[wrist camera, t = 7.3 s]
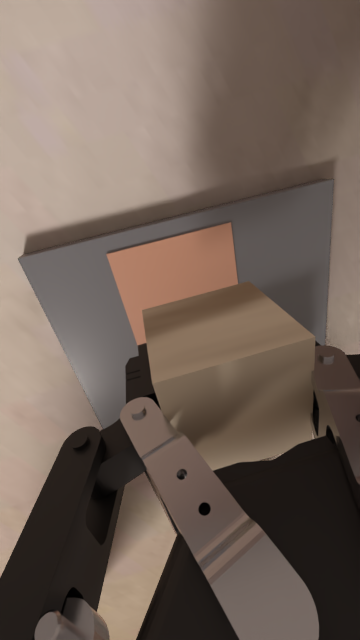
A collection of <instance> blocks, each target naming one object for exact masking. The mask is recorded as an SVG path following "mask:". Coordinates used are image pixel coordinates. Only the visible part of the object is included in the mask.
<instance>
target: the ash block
mask: <svg viewBox="0 0 360 640" xmlns="http://www.w3.org/2000/svg"><path fill="white" fill-rule="evenodd" d="M142 315H143V322H144V329H145V336H146V343H147V350H148V357H149V364H150V371H151V379H152V385H153V387H154V390H155V393H156V396H157V399H158V402H159V405H160V408H161V411H162V414H163V415H165V416H166V418H167V419H168V420H169V422H170V423H171V424H172V426H173V427H174V428H175V430H176V431H177V432H178V433H180V432H182V433H183V434H184V435H185V436H186V437H187V438H188V440H189V441H190V442H191V443H192V445H193V446H194V447H195V449H196V450H197V451H198V453H199V454H200V455H201V456H202V458H203V459H204V460H205V462H206V463H207V464H208V465H209V467H210V468H211V469H212V471H213V470H216V469H219V468H223V467H226V466H229V465H232V464H235V463H239V462H254V461H259V460H263V459H266V458H269V457H272V456H275V455H279V454H282V453H285V452H287V451H288V450H290V449H291V448H293V447H294V446H296V445H297V444H300V443H303V442H306V441H309V440H312V427H311V424H310V413H313V392H314V389H313V386H312V383H311V371H313V370H314V363H315V336H314V335H313V334H312V333H310V332H309V331H308V330H307V329H306V328H304V327H303V326H302V325H301V324H300V323H298V322H297V321H296V320H295V319H294V318H292V317H291V316H290V315H289V314H288V313H287V312H285V311H284V310H283V309H282V308H281V307H279V306H278V305H277V304H276V303H275V302H273V301H272V300H271V299H270V298H269V297H267V296H266V295H265V294H264V293H263V292H261V291H260V290H259V289H258V288H257V287H255V286H254V285H253V284H252V283H251V282H250V281H247V282H244V283H240V284H236V285H233V286H229V287H225V288H222V289H218V290H214V291H211V292H207V293H203V294H199V295H196V296H192V297H188V298H185V299H181V300H177V301H174V302H170V303H166V304H163V305H159V306H155V307H152V308H148V309H144V310H142Z"/></svg>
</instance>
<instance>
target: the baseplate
mask: <svg viewBox="0 0 360 640" xmlns="http://www.w3.org/2000/svg"><path fill="white" fill-rule="evenodd" d="M333 187H334V179H322V180H318V181H314V182H310V183H306V184H302V185H298V186H294V187H290V188H286V189H282V190H278V191H274V192H270V193H266V194H262V195H258V196H254V197H250V198H246V199H242V200H238V201H234V202H230V203H226V204H222V205H218V206H214V207H210V208H206V209H202V210H198V211H194V212H190V213H186V214H182V215H178V216H174V217H170V218H166V219H162V220H158V221H154V222H150V223H146V224H143V225H139V226H135V227H131V228H127V229H123V230H119V231H115V232H111V233H107V234H103V235H99V236H95V237H91V238H87V239H83V240H79V241H75V242H71V243H67V244H63V245H59V246H55V247H51V248H47V249H43V250H39V251H35V252H31V253H27V254H23V255H22V256H20V257H19V258H18V260H19V262H20V264H21V266H22V268H23V270H24V272H25V274H26V276H27V278H28V280H29V282H30V284H31V286H32V288H33V290H34V292H35V294H36V296H37V298H38V300H39V302H40V304H41V306H42V308H43V310H44V312H45V314H46V316H47V318H48V320H49V322H50V324H51V326H52V328H53V330H54V332H55V334H56V336H57V338H58V340H59V342H60V344H61V346H62V348H63V350H64V352H65V354H66V356H67V358H68V360H69V362H70V364H71V366H72V368H73V370H74V372H75V374H76V376H77V378H78V380H79V382H80V384H81V386H82V388H83V390H84V392H85V394H86V396H87V398H88V400H89V402H90V404H91V406H92V408H93V410H94V412H95V414H96V416H97V418H98V420H99V422H100V424H101V426H102V428H103V429H105V428H107V427H108V426H110V425H112V424H113V423H115V422H116V421H117V420H118V419H119V418H120V413H121V410H122V409H123V407H124V406H125V405H126V374H125V366H126V364H127V362H128V360H129V359H130V358H133V357H136V356H139V354H138V345H140V344H144V343H146V336H145V329H144V322H143V315H142V310H144V309H148V308H152V307H155V306H159V305H163V304H166V303H170V302H174V301H177V300H181V299H185V298H188V297H192V296H196V295H199V294H203V293H207V292H211V291H214V290H218V289H222V288H225V287H229V286H233V285H236V284H240V283H244V282H247V281H250V282H251V283H252V284H253V285H254V286H255V287H257V288H258V289H259V290H260V291H261V292H263V293H264V294H265V295H266V296H267V297H269V298H270V299H271V300H272V301H273V302H275V303H276V304H277V305H278V306H279V307H281V308H282V309H283V310H284V311H285V312H287V313H288V314H289V315H290V316H291V317H292V318H294V319H295V320H296V321H297V322H298V323H300V324H301V325H302V326H303V327H304V328H306V329H307V330H308V331H309V332H310V333H312V334H313V335H314V336H315V340H316V341H317V342H318V343H319V344H320V345H325V337H326V318H327V299H328V281H329V262H330V243H331V224H332V205H333Z"/></svg>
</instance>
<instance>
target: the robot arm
mask: <svg viewBox="0 0 360 640" xmlns="http://www.w3.org/2000/svg"><path fill="white" fill-rule="evenodd" d="M138 354H139V356H136V357H133V358H130V359H129V360H128V362H127V364H126V366H125V374H126V405H125V406H124V407H123V409H122V410H121V413H120V418H119V419H118V420H117V421H116V422H115V423H113V424H112V425H110V426H108V427H107V428H105V429H103V430H101V431H99V430H98V429H97V428H95V427H84V428H81V429H78V430H77V431H75V432H74V433H72V434H71V435H70V436H69V437H68V438H67V439H66V440H65V442H64V444H63V445H62V447H61V450H60V452H59V454H58V456H57V458H56V460H55V462H54V465H53V467H52V469H51V471H50V473H49V475H48V477H47V480H46V482H45V484H44V486H43V488H42V490H41V492H40V494H39V497H38V499H37V501H36V503H35V505H34V507H33V509H32V512H31V514H30V516H29V518H28V520H27V522H26V524H25V526H24V529H23V531H22V533H21V535H20V537H19V539H18V541H17V544H16V546H15V548H14V550H13V552H12V554H11V556H10V559H9V561H8V563H7V565H6V567H5V569H4V571H3V573H2V576H1V578H0V640H109V631H108V628H107V625H106V623H105V621H104V620H103V618H102V617H101V616H100V615H99V614H98V613H97V609H98V604H99V600H100V595H101V591H102V586H103V582H104V577H105V573H106V568H107V564H108V559H109V555H110V550H111V546H112V541H113V536H114V532H115V527H116V523H117V518H118V514H119V509H120V505H121V500H122V496H123V491H124V486H125V484H127V483H128V482H130V481H131V480H133V479H134V478H136V477H137V476H139V475H140V474H142V473H143V472H145V474H146V476H147V478H148V480H149V482H150V484H151V486H152V488H153V490H154V492H155V494H156V496H157V497H158V499H159V501H160V503H161V505H162V507H163V509H164V511H165V513H166V515H167V518H168V520H169V522H170V524H171V526H172V528H173V530H174V532H175V534H176V535H177V537H176V539H175V542H174V544H173V547H172V549H171V552H170V555H169V557H168V560H167V562H166V565H165V567H164V570H163V572H162V575H161V577H160V580H159V583H158V585H157V588H156V590H155V593H154V595H153V598H152V600H151V603H150V605H149V608H148V611H147V613H146V616H145V618H144V621H143V623H142V626H141V628H140V631H139V634H138V636H137V639H136V640H360V354H357V355H346V354H345V353H344V352H343V351H342V350H340V349H338V348H336V347H333V346H327V345H320V344H319V343H318V342H317V341H316V340H315V363H314V370H313V371H311V383H312V386H313V389H314V392H313V413H310V424H311V427H312V431H313V435H314V438H315V439H313V440H309V441H306V442H303V443H300V444H297V445H296V446H294V447H293V448H291V449H290V450H288V451H287V452H285V453H284V454H282V455H281V456H279V457H278V458H276V459H274V460H271V461H254V462H239V463H235V464H232V465H229V466H226V467H223V468H219V469H216V470H213V471H212V469H211V468H210V467H209V465H208V464H207V463H206V462H205V460H204V459H203V458H202V456H201V455H200V454H199V453H198V451H197V450H196V449H195V447H194V446H193V445H192V443H191V442H190V441H189V440H188V438H187V437H186V436H185V435H184V434H183V433H182V432H180V433H178V432H177V431H176V430H175V428H174V427H173V426H172V424H171V423H170V422H169V420H168V419H167V418H166V416H165V415H163V414H162V411H161V408H160V405H159V402H158V399H157V396H156V393H155V390H154V387H153V385H152V379H151V371H150V364H149V357H148V350H147V343H144V344H140V345H138Z"/></svg>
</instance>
